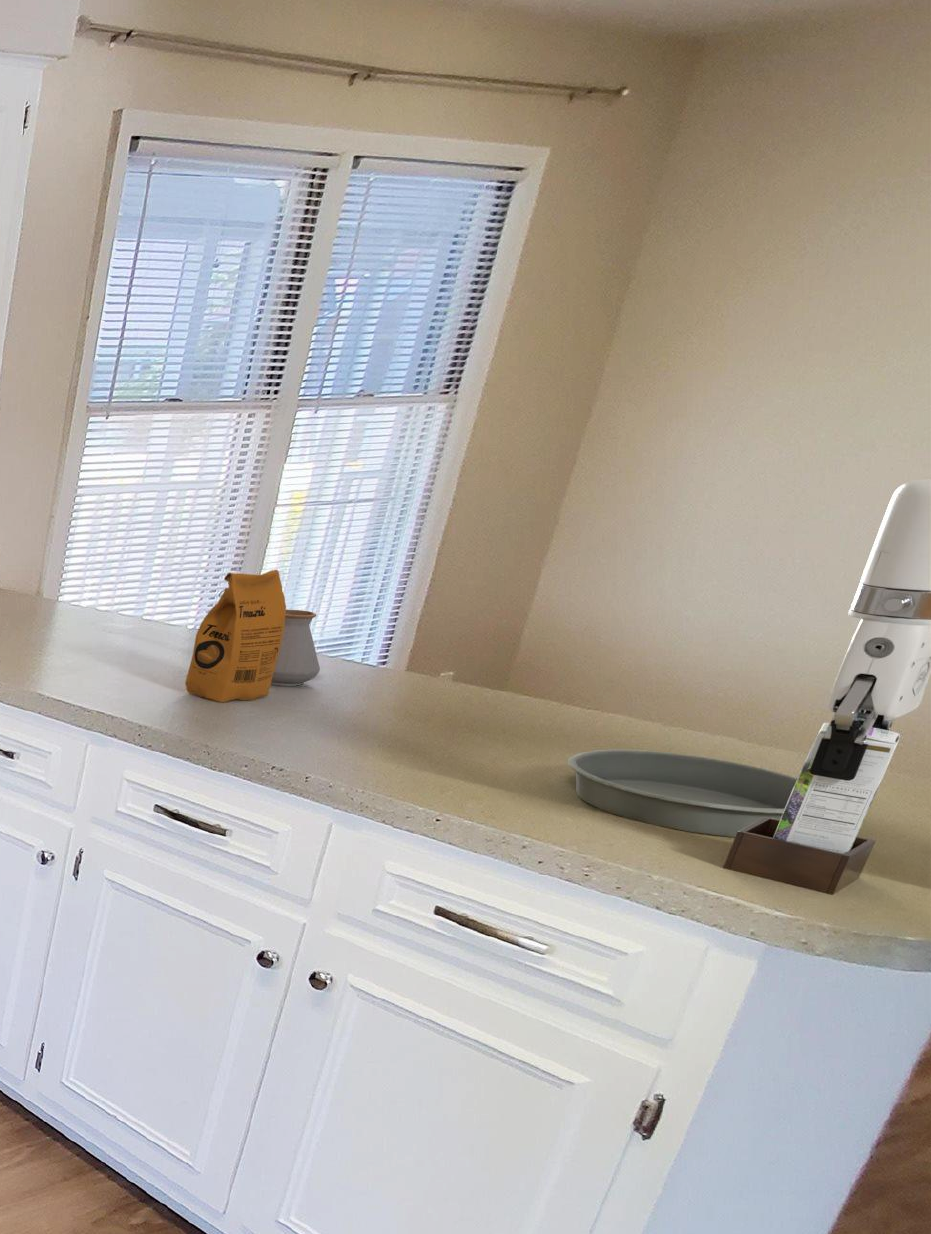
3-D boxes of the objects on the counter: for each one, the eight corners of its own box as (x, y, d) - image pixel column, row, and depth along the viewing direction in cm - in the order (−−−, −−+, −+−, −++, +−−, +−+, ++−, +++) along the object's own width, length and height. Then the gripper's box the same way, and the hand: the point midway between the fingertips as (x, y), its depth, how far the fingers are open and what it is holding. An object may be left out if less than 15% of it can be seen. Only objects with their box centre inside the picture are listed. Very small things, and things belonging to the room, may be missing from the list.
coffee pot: (331, 685, 214) (352, 604, 208) (283, 691, 211) (303, 608, 205) (229, 660, 233) (246, 585, 228) (184, 665, 230) (200, 589, 225)
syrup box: (771, 842, 133) (819, 719, 128) (849, 856, 128) (902, 730, 123) (765, 855, 129) (815, 730, 124) (845, 870, 125) (899, 741, 120)
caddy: (853, 890, 129) (876, 840, 127) (827, 907, 125) (849, 856, 123) (745, 864, 136) (765, 816, 134) (717, 880, 132) (737, 831, 130)
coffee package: (173, 690, 213) (199, 569, 205) (231, 685, 215) (258, 565, 207) (218, 704, 203) (246, 577, 196) (277, 699, 206) (307, 574, 198)
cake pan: (536, 769, 169) (546, 740, 167) (771, 794, 157) (784, 762, 156) (589, 825, 148) (601, 791, 147) (863, 857, 137) (879, 822, 136)
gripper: (938, 619, 112) (867, 795, 118) (988, 600, 120) (919, 766, 126) (825, 609, 118) (763, 776, 125) (880, 591, 126) (819, 750, 132)
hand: (842, 769), depth 125 cm, fingers closed on syrup box, 6 cm apart
